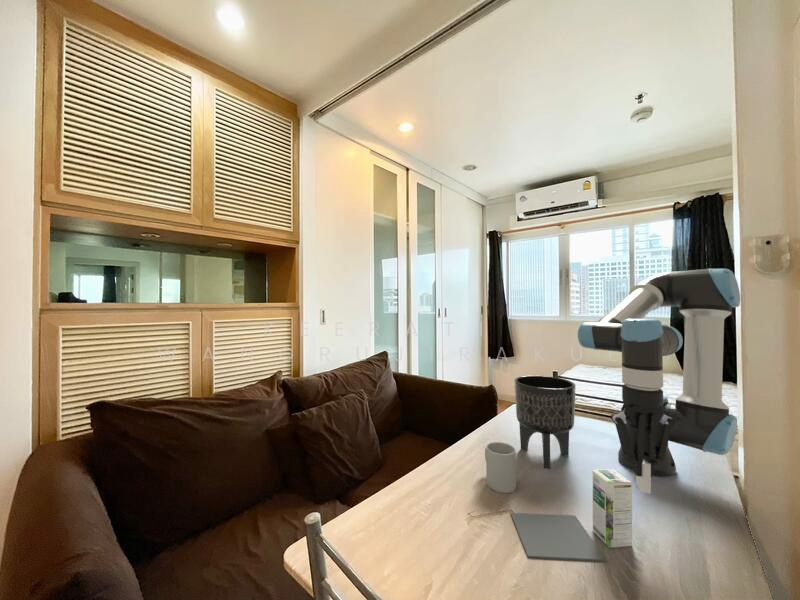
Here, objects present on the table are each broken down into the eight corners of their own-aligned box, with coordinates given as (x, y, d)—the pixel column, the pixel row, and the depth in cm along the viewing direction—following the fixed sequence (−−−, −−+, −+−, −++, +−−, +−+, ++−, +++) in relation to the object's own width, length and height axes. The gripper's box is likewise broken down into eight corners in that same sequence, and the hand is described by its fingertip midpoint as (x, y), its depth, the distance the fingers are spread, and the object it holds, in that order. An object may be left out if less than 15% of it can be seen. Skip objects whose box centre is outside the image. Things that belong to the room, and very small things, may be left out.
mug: (522, 490, 93) (522, 452, 93) (497, 495, 90) (496, 456, 90) (497, 469, 104) (497, 435, 104) (474, 474, 102) (474, 439, 102)
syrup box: (591, 530, 76) (590, 469, 76) (614, 528, 77) (613, 468, 77) (609, 548, 71) (608, 482, 71) (634, 546, 71) (633, 481, 71)
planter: (581, 476, 100) (580, 391, 100) (515, 465, 107) (514, 386, 107) (571, 448, 119) (570, 377, 119) (515, 441, 125) (514, 373, 125)
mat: (575, 517, 81) (575, 515, 81) (606, 561, 67) (606, 559, 67) (510, 514, 82) (510, 512, 82) (527, 557, 68) (527, 555, 68)
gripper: (660, 382, 77) (661, 481, 76) (603, 381, 78) (604, 479, 77) (685, 391, 69) (687, 500, 69) (622, 390, 70) (623, 498, 70)
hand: (643, 489), depth 73 cm, fingers closed
